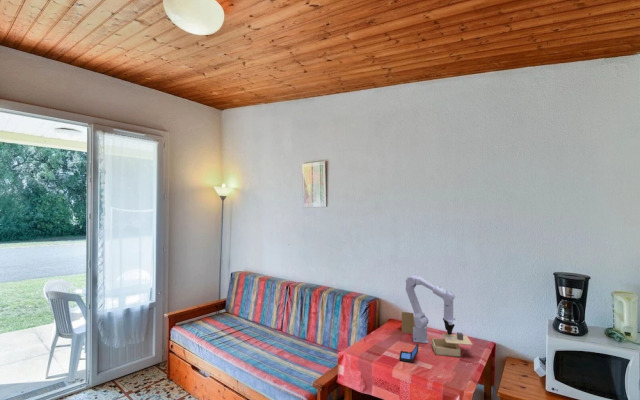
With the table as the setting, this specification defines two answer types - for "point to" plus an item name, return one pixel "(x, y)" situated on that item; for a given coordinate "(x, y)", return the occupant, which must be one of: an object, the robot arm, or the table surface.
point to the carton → (445, 348)
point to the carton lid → (457, 339)
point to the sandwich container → (408, 322)
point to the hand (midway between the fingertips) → (448, 332)
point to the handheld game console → (408, 355)
